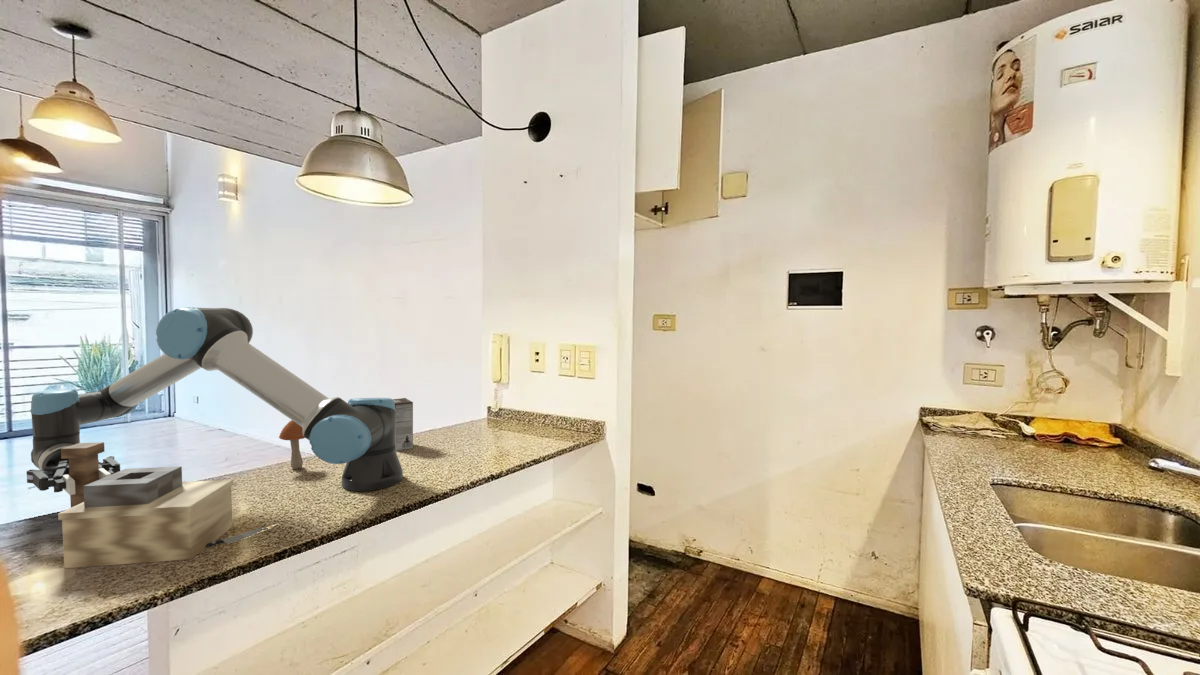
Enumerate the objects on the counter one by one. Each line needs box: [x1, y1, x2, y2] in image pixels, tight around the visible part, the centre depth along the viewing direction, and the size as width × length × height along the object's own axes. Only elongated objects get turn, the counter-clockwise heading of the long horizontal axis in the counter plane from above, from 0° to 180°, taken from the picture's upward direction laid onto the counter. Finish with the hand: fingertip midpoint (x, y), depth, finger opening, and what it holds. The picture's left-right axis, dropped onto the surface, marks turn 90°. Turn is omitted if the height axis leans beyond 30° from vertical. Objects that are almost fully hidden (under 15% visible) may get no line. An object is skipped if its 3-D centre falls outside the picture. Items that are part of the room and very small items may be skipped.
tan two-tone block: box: [57, 466, 234, 569], centre depth 96 cm, size 21×15×14 cm
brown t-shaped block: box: [61, 441, 106, 508], centre depth 102 cm, size 4×4×17 cm
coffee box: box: [393, 397, 414, 452], centre depth 168 cm, size 9×6×16 cm
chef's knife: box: [205, 526, 268, 549], centre depth 100 cm, size 19×1×3 cm
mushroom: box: [278, 419, 306, 470], centre depth 144 cm, size 8×8×15 cm
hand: (90, 484), depth 98 cm, fingers open, 4 cm apart
